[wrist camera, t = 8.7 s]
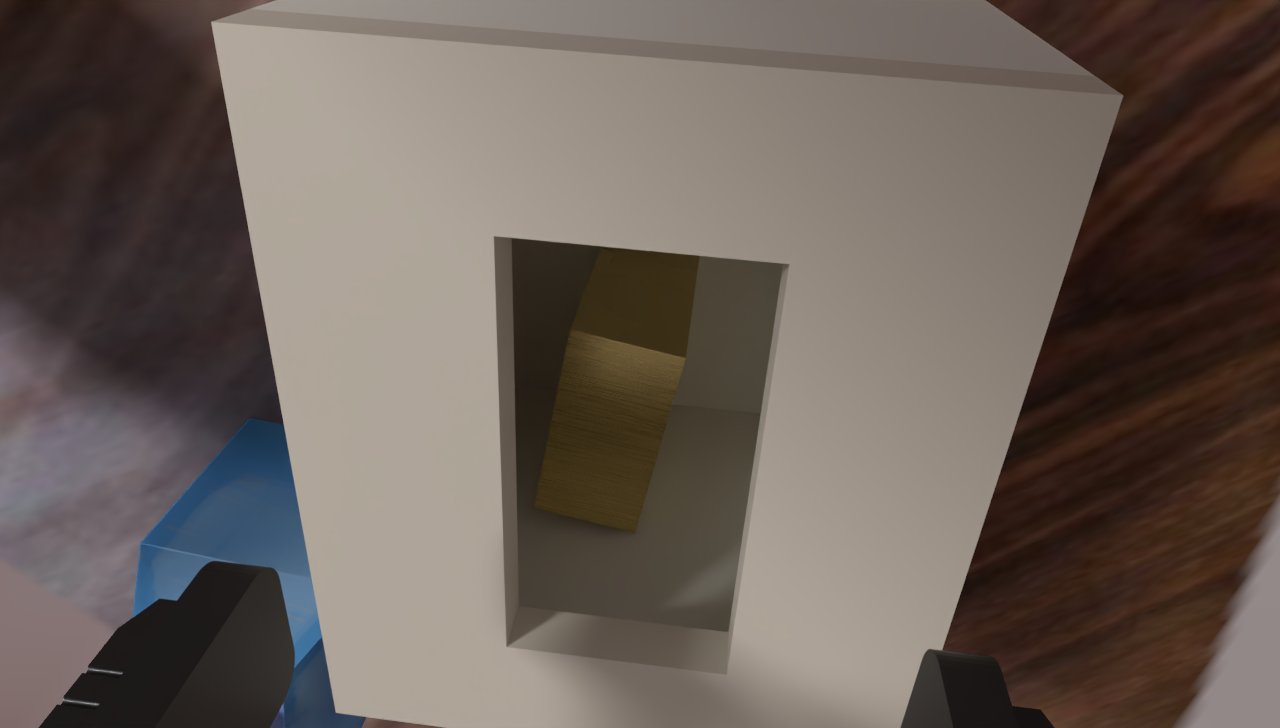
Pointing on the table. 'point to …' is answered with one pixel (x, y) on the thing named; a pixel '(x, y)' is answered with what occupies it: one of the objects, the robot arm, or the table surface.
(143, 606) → the perfume bottle
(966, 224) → the tissue box
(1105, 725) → the table surface
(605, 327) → the tan wooden block
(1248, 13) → the table surface
